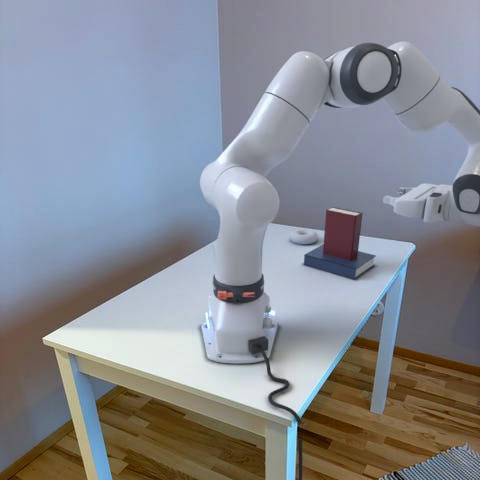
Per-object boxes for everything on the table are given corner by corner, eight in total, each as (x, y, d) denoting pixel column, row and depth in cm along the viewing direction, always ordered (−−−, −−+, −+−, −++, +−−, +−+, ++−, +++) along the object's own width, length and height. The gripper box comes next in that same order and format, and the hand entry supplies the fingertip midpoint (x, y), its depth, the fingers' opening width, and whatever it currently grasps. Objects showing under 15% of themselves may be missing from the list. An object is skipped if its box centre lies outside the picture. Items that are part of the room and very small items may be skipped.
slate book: (354, 279, 138) (355, 268, 136) (303, 264, 148) (304, 254, 146) (374, 265, 147) (375, 255, 145) (325, 252, 157) (325, 242, 155)
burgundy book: (351, 260, 142) (356, 216, 134) (322, 253, 147) (326, 209, 140) (357, 256, 144) (362, 212, 137) (329, 249, 150) (333, 206, 143)
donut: (288, 236, 171) (290, 245, 162) (289, 227, 169) (290, 236, 161) (316, 236, 171) (319, 245, 162) (316, 227, 169) (319, 236, 160)
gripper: (458, 181, 125) (407, 175, 133) (431, 199, 111) (377, 191, 119) (453, 204, 128) (404, 197, 136) (426, 225, 115) (374, 215, 122)
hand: (391, 194), depth 127 cm, fingers open, 8 cm apart
